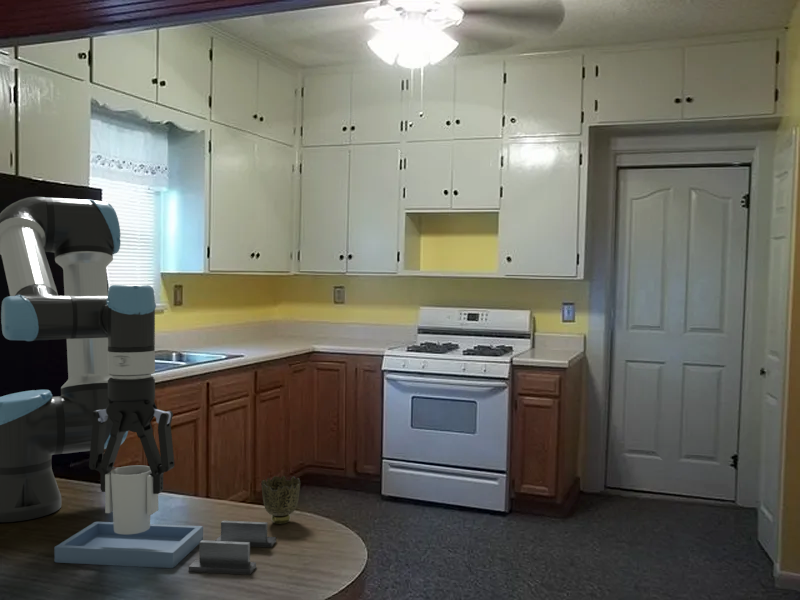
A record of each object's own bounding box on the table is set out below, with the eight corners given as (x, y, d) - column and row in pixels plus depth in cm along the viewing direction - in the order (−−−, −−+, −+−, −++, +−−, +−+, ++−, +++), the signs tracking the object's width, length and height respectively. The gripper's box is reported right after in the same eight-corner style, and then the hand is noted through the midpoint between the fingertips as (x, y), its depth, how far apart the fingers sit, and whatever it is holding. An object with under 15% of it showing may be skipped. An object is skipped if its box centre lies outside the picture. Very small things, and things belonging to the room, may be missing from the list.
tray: (95, 535, 134) (95, 521, 134) (202, 540, 132) (202, 526, 132) (54, 562, 121) (54, 547, 121) (172, 568, 119) (172, 552, 119)
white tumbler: (133, 520, 131) (133, 463, 131) (161, 526, 128) (161, 468, 128) (102, 531, 125) (101, 472, 125) (130, 537, 122) (130, 477, 122)
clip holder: (221, 539, 133) (221, 516, 133) (276, 541, 132) (276, 519, 132) (188, 571, 118) (188, 546, 118) (250, 574, 117) (250, 549, 117)
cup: (254, 526, 140) (254, 483, 140) (271, 514, 147) (271, 474, 147) (290, 530, 138) (291, 487, 138) (306, 518, 145) (306, 477, 145)
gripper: (64, 377, 123) (65, 516, 124) (178, 379, 121) (178, 520, 122) (88, 372, 131) (88, 503, 131) (196, 374, 129) (196, 507, 129)
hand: (132, 511), depth 127 cm, fingers closed on white tumbler, 7 cm apart
